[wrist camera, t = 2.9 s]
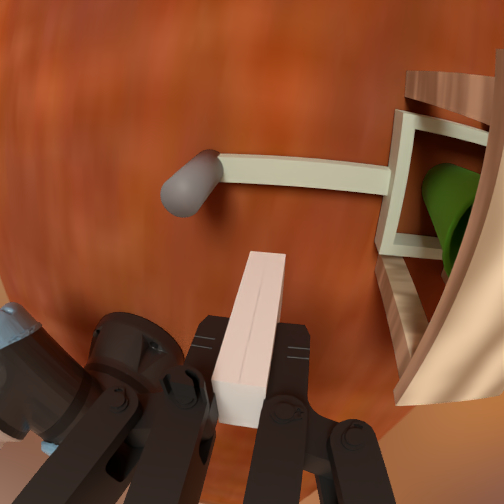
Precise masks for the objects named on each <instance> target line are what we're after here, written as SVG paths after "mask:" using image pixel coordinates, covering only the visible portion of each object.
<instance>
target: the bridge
mask: <svg viewBox="0 0 504 504" xmlns="http://www.w3.org/2000/svg"><path fill="white" fill-rule="evenodd" d="M405 97H407V98H411V99H414V100H418V101H421V102H425V103H428V104H431V105H435V106H438V107H441V108H444V109H447V110H450V111H453V112H456V113H458V114H461V115H464V116H467V117H469V118H472V119H475V120H477V121H480V122H482V123H485V124H487V125H490V128H489V134H488V141H487V146H486V152H485V157H484V162H483V167H482V171H481V176H480V180H479V184H478V188H477V192H476V196H475V200H474V204H473V207H472V211H471V214H470V218H469V221H468V225H467V228H466V231H465V234H464V237H463V240H462V243H461V246H460V249H459V252H458V255H457V258H456V260H455V263H454V266H453V269H452V271H451V274H450V276H449V278H448V276H447V274H446V272H445V270H444V268H443V271H442V273H441V277H442V279H443V281H444V283H445V285H446V286H445V289H444V291H443V294H442V296H441V298H440V301H439V303H438V305H437V308H436V310H435V312H434V314H433V316H432V319H431V321H430V323H428V321H427V318H426V315H425V312H424V309H423V307H422V304H421V301H420V299H419V296H418V293H417V291H416V288H415V286H414V283H413V281H412V278H411V276H410V273H409V271H408V269H407V266H406V264H405V261H404V259H403V257H402V256H394V255H383V254H379V255H378V259H377V263H376V267H375V274H376V277H377V281H378V285H379V288H380V292H381V296H382V300H383V304H384V308H385V312H386V316H387V321H388V325H389V329H390V334H391V338H392V343H393V348H394V353H395V358H396V363H397V368H398V373H399V379H400V380H399V382H398V384H397V385H396V387H395V389H394V390H393V391H394V398H395V405H396V406H405V405H423V404H436V403H447V402H457V401H465V400H473V399H480V398H487V397H493V396H499V395H500V394H501V393H502V392H503V391H504V49H496V66H495V77H489V76H481V75H473V74H463V73H450V72H434V71H407V72H406V87H405Z"/></svg>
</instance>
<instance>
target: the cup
mask: <svg viewBox="0 0 504 504" xmlns="http://www.w3.org/2000/svg"><path fill="white" fill-rule="evenodd" d="M480 176H481V175H480V174H478V173H475V172H473V171H470V170H467V169H465V168H462V167H459V166H457V165H454V164H451V163H442V164H438V165H436V166H434V167H433V168H432V169H430V170H429V171H428V173H427V174H426V176H425V178H424V180H423V184H422V196H423V200H424V202H425V205H426V207H427V210H428V212H429V215H430V217H431V220H432V223H433V225H434V228H435V231H436V233H437V236H438V239H439V242H440V245H441V247H442V250H443V252H442V259H443V265H444V270H445V272H446V274H447V276H448V278H449V276H450V274H451V271H452V269H453V266H454V263H455V260H456V258H457V255H458V252H459V249H460V246H461V243H462V240H463V237H464V234H465V231H466V228H467V225H468V221H469V218H470V214H471V211H472V207H473V204H474V200H475V196H476V192H477V188H478V184H479V180H480Z"/></svg>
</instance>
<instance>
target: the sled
mask: <svg viewBox="0 0 504 504" xmlns="http://www.w3.org/2000/svg"><path fill="white" fill-rule="evenodd" d="M415 129H417V130H422V131H427V132H432V133H436V134H441V135H445V136H449V137H453V138H458V139H461V140H465V141H469V142H473V143H477V144H480V145H484V146H487V141H488V134H489V132H487V131H484V130H481V129H477V128H474V127H470V126H467V125H463V124H460V123H456V122H452V121H448V120H444V119H440V118H436V117H431V116H427V115H422V114H417V113H413V112H408V111H402V110H397V109H395V116H394V125H393V134H392V142H391V150H390V157H389V164H388V167H385V166H378V165H370V164H362V163H354V162H345V161H335V160H325V159H314V158H301V157H287V156H270V155H248V154H220V153H219V152H217V151H215V150H204V151H202V152H200V153H199V154H198V155H196V156H195V157H194V158H193V159H192V160H190V161H189V162H188V163H187V164H186V165H184V166H183V167H182V168H181V169H180V170H179V171H177V172H176V173H175V174H174V175H173V176H172V177H171V178H169V179H168V180H167V181H166V182H165V183H164V185H163V186H162V189H161V201H162V203H163V205H164V207H165V208H166V209H167V211H169V212H170V213H171V214H173V215H175V216H177V217H190V216H192V215H194V214H195V213H196V212H197V211H198V210H199V209H200V207H201V206H202V204H203V203H204V202H205V200H206V199H207V197H208V196H209V195H210V193H211V192H212V190H213V189H214V188H215V186H216V185H217V184H218V182H231V183H252V184H269V185H284V186H298V187H310V188H322V189H332V190H343V191H352V192H362V193H370V194H379V195H383V200H382V206H381V211H380V216H379V221H378V226H377V231H376V236H375V240H374V241H375V244H376V247H377V250H378V253H379V254H383V255H394V256H405V257H416V258H427V259H437V260H443V259H442V252H443V250H442V247H441V245H440V242H439V239H438V237H430V236H422V235H413V234H403V233H396V231H397V226H398V222H399V218H400V213H401V209H402V204H403V199H404V194H405V189H406V184H407V178H408V173H409V167H410V161H411V154H412V148H413V141H414V133H415Z"/></svg>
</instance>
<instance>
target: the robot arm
mask: <svg viewBox="0 0 504 504" xmlns="http://www.w3.org/2000/svg"><path fill="white" fill-rule="evenodd" d="M285 257H286V254H277V253H265V252H254V251H250V254H249V258H248V261H247V264H246V267H245V271H244V274H243V277H242V281H241V284H240V287H239V290H238V294H237V297H236V300H235V303H234V307H233V310H232V313H231V316H230V318H226V317H218V316H211V315H208V316H207V317H206V318H205V319H204V320H203V321H202V322H201V323H200V324H199V326H198V328H197V331H196V334H195V337H194V339H193V341H192V344H191V346H190V349H189V351H188V354H187V356H186V359H185V362H184V357H183V353H182V351H181V349H180V347H179V346H178V344H177V343H176V342H175V340H174V339H173V338H172V337H171V336H170V335H169V334H168V333H166V332H165V331H164V330H163V329H161V328H160V327H159V326H157V325H155V324H154V323H152V322H150V321H148V320H146V319H144V318H142V317H139V316H136V315H133V314H129V313H123V312H115V313H110V314H107V315H105V316H104V317H103V318H102V319H101V320H100V322H99V324H98V325H97V327H96V328H95V330H94V333H93V338H92V342H91V347H90V352H89V357H88V362H87V364H86V366H85V368H83V367H82V366H80V365H79V364H78V363H77V362H76V361H75V360H74V359H73V358H72V357H71V356H70V355H69V354H68V353H67V352H66V351H65V350H64V349H63V348H62V347H61V346H60V345H59V344H58V343H57V342H56V341H55V340H54V339H53V338H52V337H51V336H50V335H49V334H48V333H47V332H46V331H45V329H44V328H43V327H42V324H41V323H40V322H37V321H36V320H35V319H34V318H33V317H32V316H31V315H30V314H29V313H28V312H27V311H26V310H25V308H24V307H23V306H21V305H20V304H18V303H15V302H10V303H7V304H5V305H4V306H3V307H2V308H0V449H1V448H2V446H3V445H4V443H5V442H7V441H15V442H20V441H21V440H23V439H24V437H25V436H26V434H27V433H28V432H29V431H30V430H31V431H33V432H34V433H36V434H37V435H39V436H40V437H41V438H42V439H43V440H44V441H42V442H41V444H42V446H41V449H42V451H43V452H44V453H46V454H47V455H49V456H50V457H49V458H48V459H47V460H46V462H45V463H44V464H43V465H42V466H41V468H40V469H39V470H38V471H37V473H36V474H35V475H34V476H33V478H32V479H31V480H30V481H29V483H28V484H27V485H26V486H25V488H24V489H23V490H22V491H21V493H20V494H19V495H18V496H17V498H16V499H15V500H14V501H13V503H12V504H115V503H116V502H117V501H118V499H119V498H120V496H121V495H122V494H123V492H124V491H125V489H126V488H127V487H128V485H129V484H130V482H131V484H130V487H129V490H128V492H127V495H126V498H125V501H124V503H123V504H198V503H199V499H200V496H201V492H202V488H203V484H204V481H205V477H206V473H207V469H208V465H209V461H210V458H211V454H212V450H213V446H214V442H215V438H216V431H215V427H216V423H217V420H218V419H219V423H225V424H231V425H237V426H244V427H251V428H258V429H257V435H256V440H255V445H254V450H253V456H252V461H251V466H250V471H249V476H248V481H247V486H246V491H245V496H244V501H243V504H299V499H300V490H301V482H302V473H303V470H305V471H308V472H311V473H313V474H315V478H316V483H317V489H318V494H319V499H320V504H396V502H395V498H394V495H393V491H392V488H391V484H390V481H389V477H388V474H387V470H386V467H385V464H384V460H383V458H382V454H381V451H380V448H379V445H378V441H377V438H376V435H375V433H374V431H373V429H372V427H371V426H369V425H368V424H367V423H366V422H364V421H360V420H357V419H348V420H345V421H342V422H340V423H339V422H336V421H333V420H330V419H327V418H325V417H322V416H320V415H319V414H317V413H316V412H315V411H314V410H313V409H312V408H311V406H310V404H309V402H308V397H307V391H308V374H309V354H310V335H309V333H308V331H307V328H306V326H305V325H299V324H288V323H279V321H280V314H281V306H282V296H283V284H284V271H285Z"/></svg>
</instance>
